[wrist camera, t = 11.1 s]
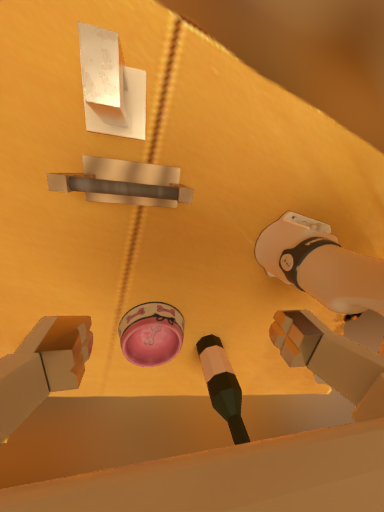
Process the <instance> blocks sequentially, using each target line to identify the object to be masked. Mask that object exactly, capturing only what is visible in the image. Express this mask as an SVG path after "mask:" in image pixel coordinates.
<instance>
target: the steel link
mask: <svg viewBox="0 0 384 512" xmlns="http://www.w3.org/2000/svg"><path fill="white" fill-rule="evenodd" d="M78 30H79V42H80V54H81V66H82V78H83V90H84V101H85V102H86V103H87V104H88V105H89V106H90V107H91V109H92V110H93V111H94V112H95V113H96V114H97V115H98V116H99V117H100V119H101V120H102V121H103V122H104V123H105V124H109V125H115V126H120V127H126V128H129V118H128V115H127V112H126V109H125V107H124V103H123V90H127V91H129V80H128V75H127V71H126V66H125V62H124V57H123V53H122V48H121V44H120V39H119V35H118V33H117V32H113V31H110V30H106V29H103V28H99V27H96V26H92V25H89V24H85V23H81V22H78Z"/></svg>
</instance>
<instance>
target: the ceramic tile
mask: <svg viewBox="0 0 384 512" xmlns="http://www.w3.org/2000/svg"><path fill="white" fill-rule="evenodd" d="M80 60H81V55H80ZM81 71H82V66H81ZM126 71H127V75H128V80H129V91H127V90H123V103H124V107H125V109H126V112H127V115H128V118H129V128H126V127H120V126H115V125H109V124H105V123H104V122H103V121H102V120H101V119H100V117H99V116H98V115H97V114H96V113H95V112H94V111H93V110H92V109H91V107H90V106H89V105H88V104H87V103H86V102H85V101H84V106H85V118H86V130H87V131H89V132H95V133H101V134H107V135H114V136H120V137H126V138H133V139H139V140H145V130H146V71H144V70H139V69H135V68H131V67H127V66H126ZM82 83H83V78H82ZM83 95H84V90H83Z"/></svg>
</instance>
